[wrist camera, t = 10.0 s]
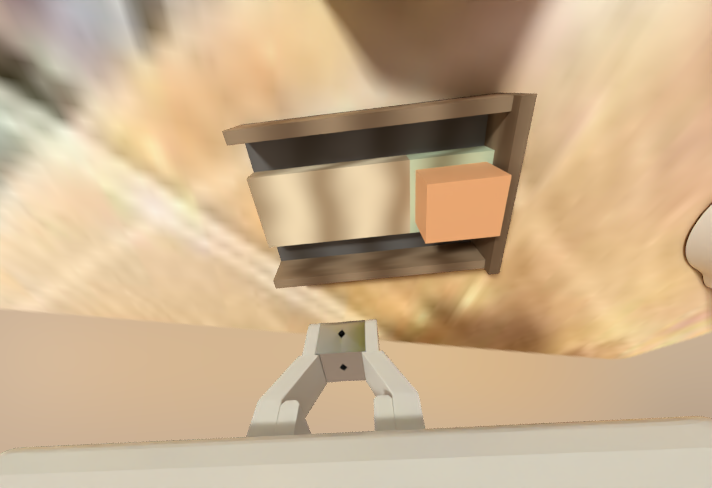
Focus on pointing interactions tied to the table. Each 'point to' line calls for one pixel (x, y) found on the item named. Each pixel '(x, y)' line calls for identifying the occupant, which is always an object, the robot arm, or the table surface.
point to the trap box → (376, 185)
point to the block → (460, 201)
